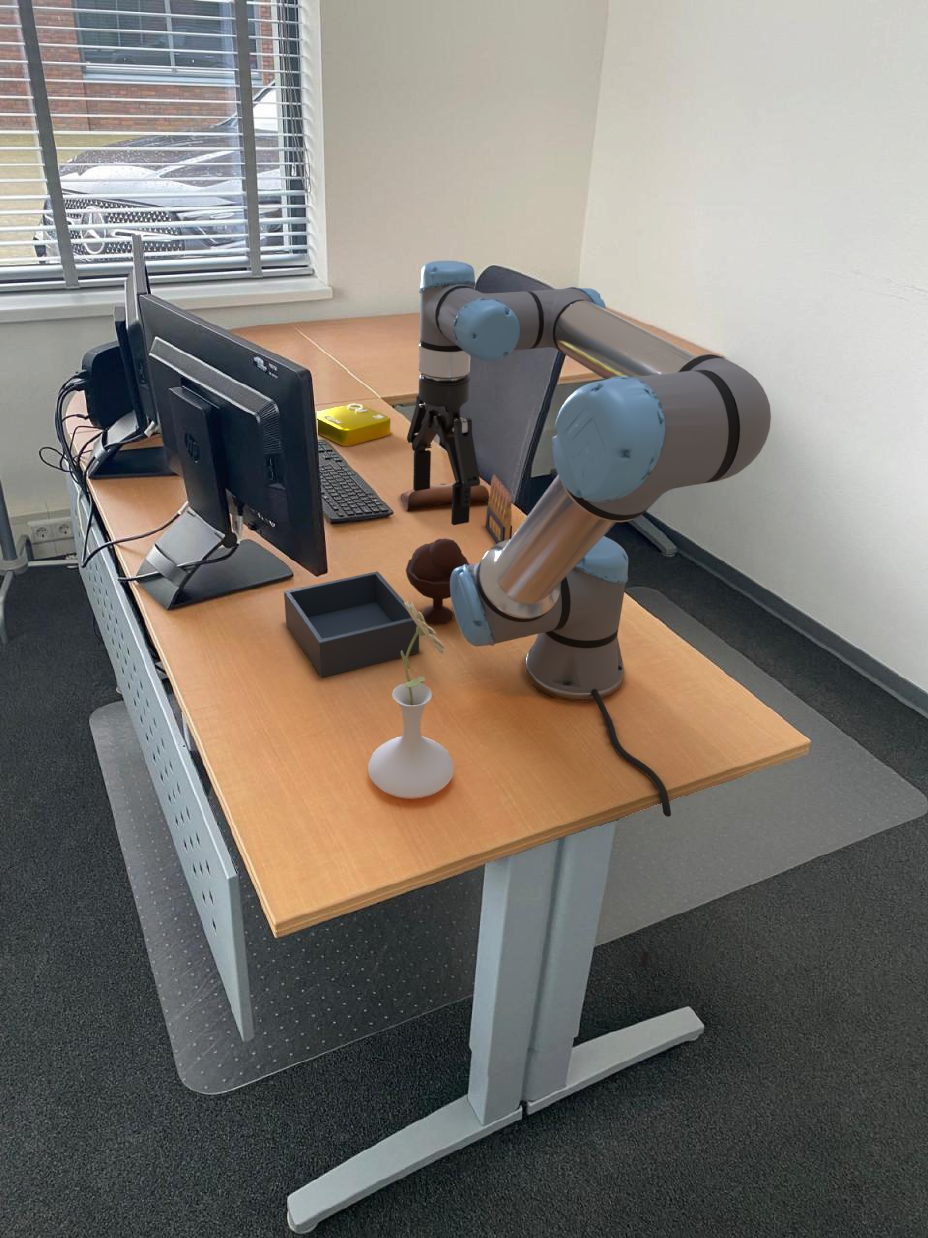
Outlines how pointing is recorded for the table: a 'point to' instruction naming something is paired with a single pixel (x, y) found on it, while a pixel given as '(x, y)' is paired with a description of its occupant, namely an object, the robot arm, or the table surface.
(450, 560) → the ice cream bowl
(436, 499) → the sunglasses case
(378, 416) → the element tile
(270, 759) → the table surface
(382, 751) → the flower in vase
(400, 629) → the open square box
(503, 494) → the ammunition clip
